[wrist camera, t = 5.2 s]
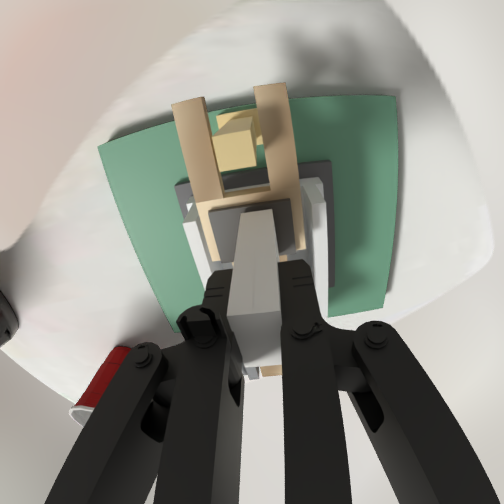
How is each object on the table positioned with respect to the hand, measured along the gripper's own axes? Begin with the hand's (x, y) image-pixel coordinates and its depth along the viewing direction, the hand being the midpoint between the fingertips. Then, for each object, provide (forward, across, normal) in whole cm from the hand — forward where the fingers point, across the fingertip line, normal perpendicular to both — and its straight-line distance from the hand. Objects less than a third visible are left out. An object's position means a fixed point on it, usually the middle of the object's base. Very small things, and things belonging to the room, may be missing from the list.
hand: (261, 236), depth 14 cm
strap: (+1, 0, -3) cm, 4 cm away
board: (+8, 0, -4) cm, 9 cm away
